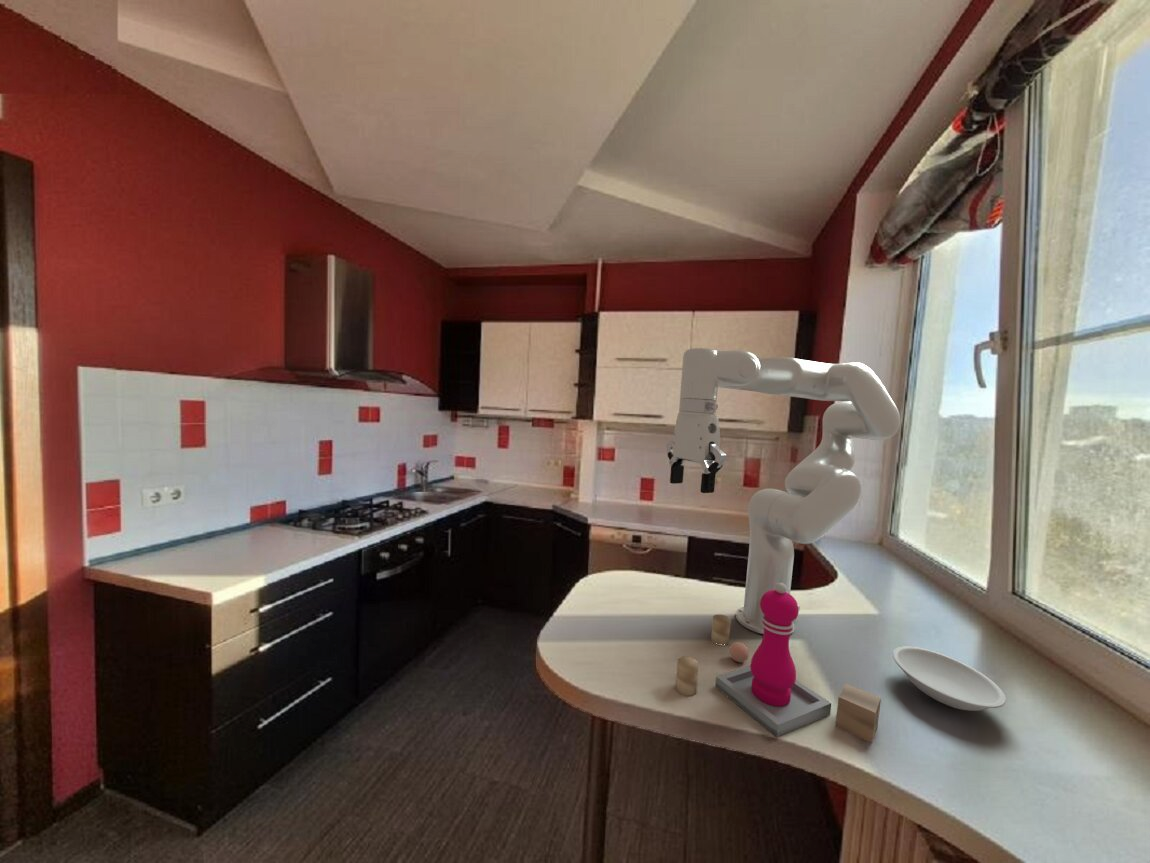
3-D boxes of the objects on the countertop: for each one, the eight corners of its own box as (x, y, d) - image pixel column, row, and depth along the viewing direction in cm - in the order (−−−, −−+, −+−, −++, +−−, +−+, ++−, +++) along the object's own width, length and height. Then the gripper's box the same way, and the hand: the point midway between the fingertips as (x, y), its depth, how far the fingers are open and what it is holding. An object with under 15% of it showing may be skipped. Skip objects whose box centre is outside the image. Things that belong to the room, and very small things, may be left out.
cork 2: (719, 635, 100) (721, 613, 99) (732, 643, 97) (734, 621, 96) (707, 638, 98) (709, 616, 98) (719, 647, 95) (721, 624, 94)
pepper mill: (798, 712, 75) (810, 595, 73) (752, 704, 76) (763, 588, 74) (787, 685, 82) (798, 578, 80) (745, 678, 83) (755, 572, 81)
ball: (737, 653, 93) (739, 637, 92) (752, 663, 89) (753, 646, 89) (724, 657, 91) (726, 640, 91) (738, 667, 88) (740, 649, 87)
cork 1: (686, 681, 83) (689, 654, 82) (700, 693, 79) (702, 666, 79) (671, 685, 81) (673, 659, 81) (684, 698, 78) (686, 670, 77)
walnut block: (842, 711, 77) (845, 683, 77) (877, 727, 74) (881, 697, 73) (835, 726, 73) (838, 696, 73) (871, 743, 70) (875, 712, 69)
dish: (870, 667, 91) (873, 643, 90) (944, 672, 90) (947, 648, 90) (938, 732, 73) (942, 703, 73) (1030, 739, 73) (1034, 709, 72)
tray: (765, 670, 87) (766, 660, 87) (830, 714, 76) (831, 703, 76) (715, 686, 81) (716, 676, 81) (776, 737, 70) (777, 724, 70)
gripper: (742, 410, 90) (734, 495, 91) (684, 406, 105) (678, 479, 107) (713, 409, 87) (706, 497, 88) (657, 405, 102) (652, 480, 103)
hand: (691, 487), depth 97 cm, fingers open, 9 cm apart
